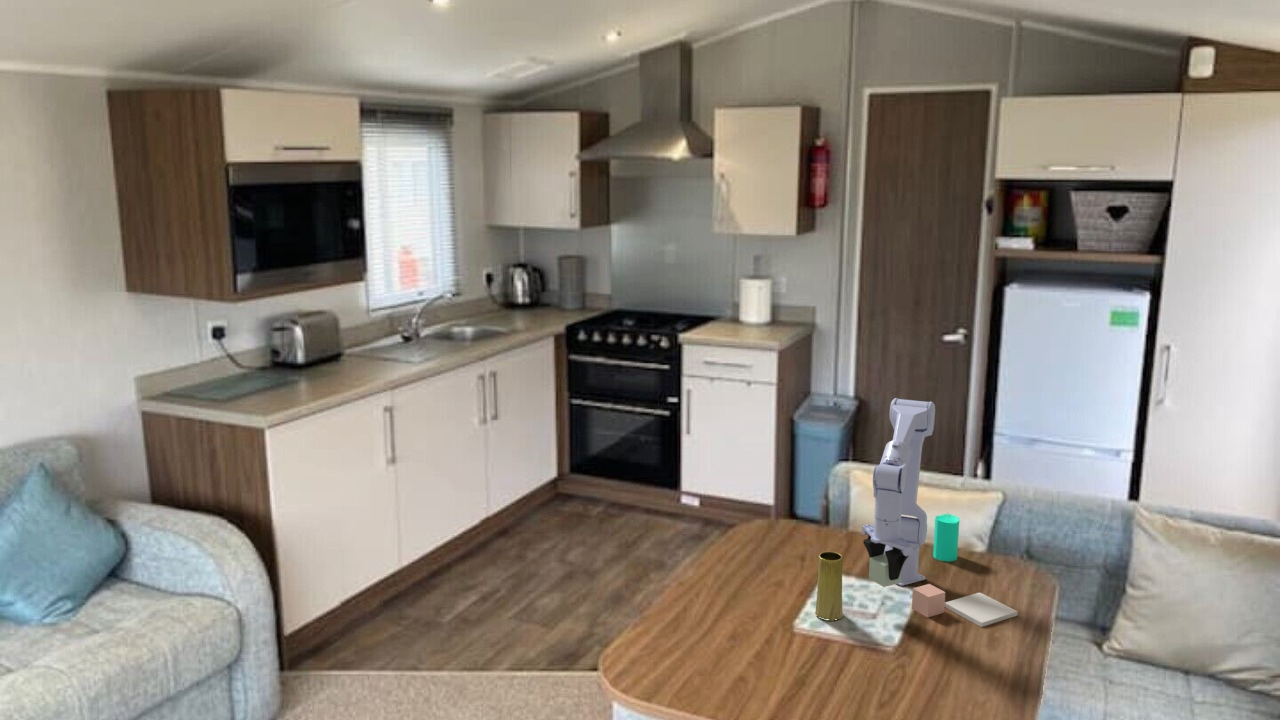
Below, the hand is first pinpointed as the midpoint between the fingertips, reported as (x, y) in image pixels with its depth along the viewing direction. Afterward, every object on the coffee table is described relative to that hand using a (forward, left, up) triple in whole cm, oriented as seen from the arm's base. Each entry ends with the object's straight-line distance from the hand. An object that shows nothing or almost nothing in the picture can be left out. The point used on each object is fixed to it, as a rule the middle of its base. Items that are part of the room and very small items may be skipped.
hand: (885, 574), depth 215 cm
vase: (-5, -11, -10) cm, 16 cm away
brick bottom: (0, 0, -2) cm, 2 cm away
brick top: (+4, +10, -10) cm, 14 cm away
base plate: (+10, +20, -9) cm, 24 cm away
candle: (-16, +35, -10) cm, 39 cm away
